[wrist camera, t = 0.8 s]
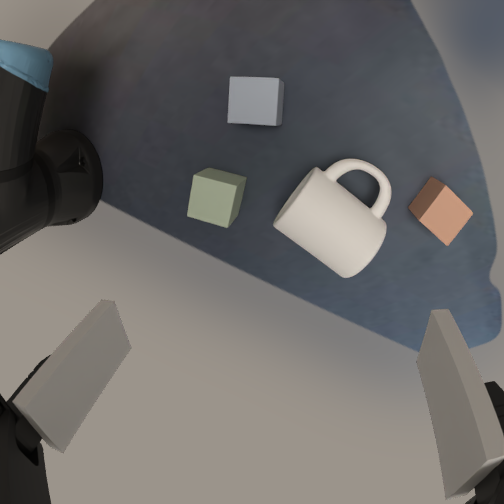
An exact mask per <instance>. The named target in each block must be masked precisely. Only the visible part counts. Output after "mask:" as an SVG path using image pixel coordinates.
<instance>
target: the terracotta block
mask: <svg viewBox="0 0 504 504" xmlns="http://www.w3.org/2000/svg"><path fill="white" fill-rule="evenodd" d="M408 208H409V209H410V211H411V212H412V213H413V214H414V215H415V216H416V218H417V219H418V220H419V221H420V222H421V223H422V224H423V225H425V226H426V227H427V228H428V229H429V230H430V231H431V232H432V233H434V234H435V235H436V236H437V237H438V238H439V239H440V240H441V241H442V242H443V243H444V244H446V245H447V246H448V245H449V244H450V242H451V241H452V240H453V239H454V237H455V236H456V235H457V234H458V232H459V231H460V230H461V229H462V227H463V226H464V225H465V223H466V222H467V221H468V220H469V218H470V217H471V216H472V214H473V212H472V211H471V210H470V209H469V208H468V207H467V206H466V205H465V204H464V203H463V202H462V201H461V200H460V199H459V198H458V197H457V196H456V195H455V194H454V193H453V192H452V191H451V190H450V189H449V188H448V187H447V186H446V185H445V184H443V183H441V182H440V181H438V180H437V179H435V178H433V177H432V176H431V177H430V179H429V180H428V182H427V183H426V184H425V186H424V187H423V188H422V190H421V191H420V192H419V194H418V195H417V196H416V198H415V199H414V200H413V201H412V203H411V204H410V205H409V207H408Z"/></svg>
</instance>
